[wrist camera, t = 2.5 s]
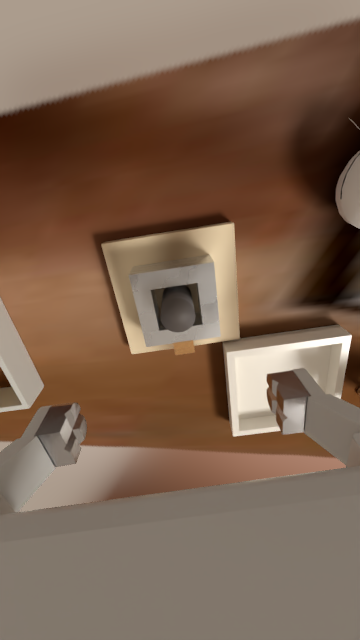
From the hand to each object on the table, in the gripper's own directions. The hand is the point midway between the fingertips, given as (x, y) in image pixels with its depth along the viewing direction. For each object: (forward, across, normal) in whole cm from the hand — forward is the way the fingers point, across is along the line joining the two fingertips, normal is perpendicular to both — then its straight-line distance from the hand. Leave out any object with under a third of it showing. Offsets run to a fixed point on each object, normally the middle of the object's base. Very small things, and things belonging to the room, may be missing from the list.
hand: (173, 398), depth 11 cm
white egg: (+13, -15, -7) cm, 21 cm away
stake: (+12, -1, 0) cm, 13 cm away
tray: (+12, -10, +11) cm, 19 cm away
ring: (+12, -1, 0) cm, 12 cm away
